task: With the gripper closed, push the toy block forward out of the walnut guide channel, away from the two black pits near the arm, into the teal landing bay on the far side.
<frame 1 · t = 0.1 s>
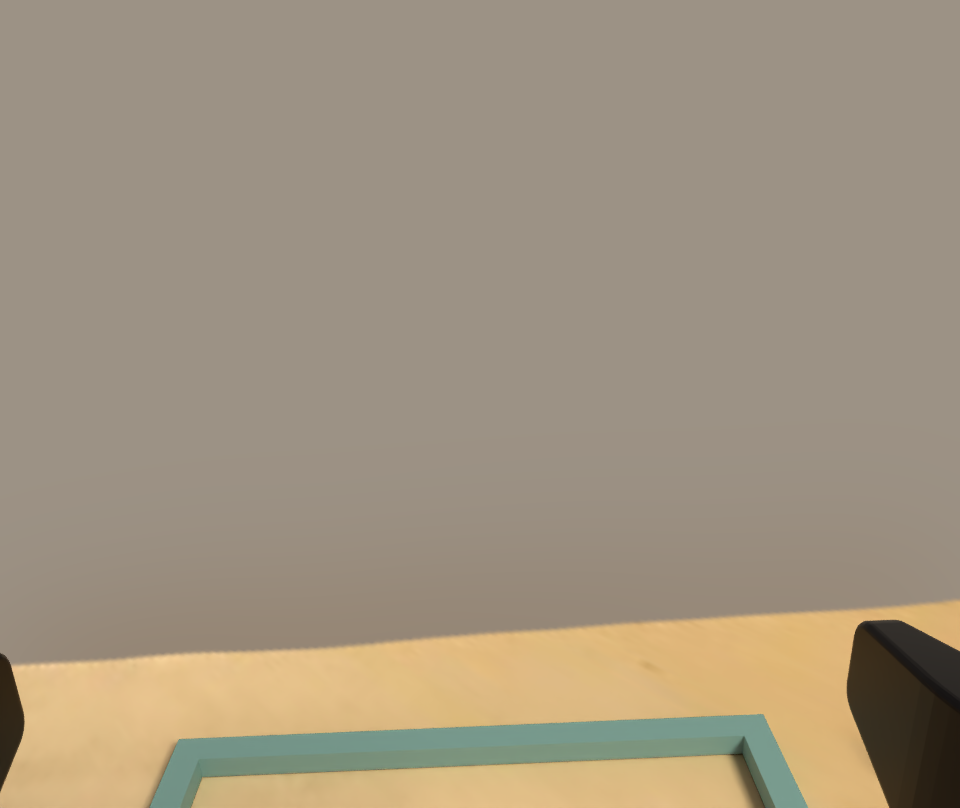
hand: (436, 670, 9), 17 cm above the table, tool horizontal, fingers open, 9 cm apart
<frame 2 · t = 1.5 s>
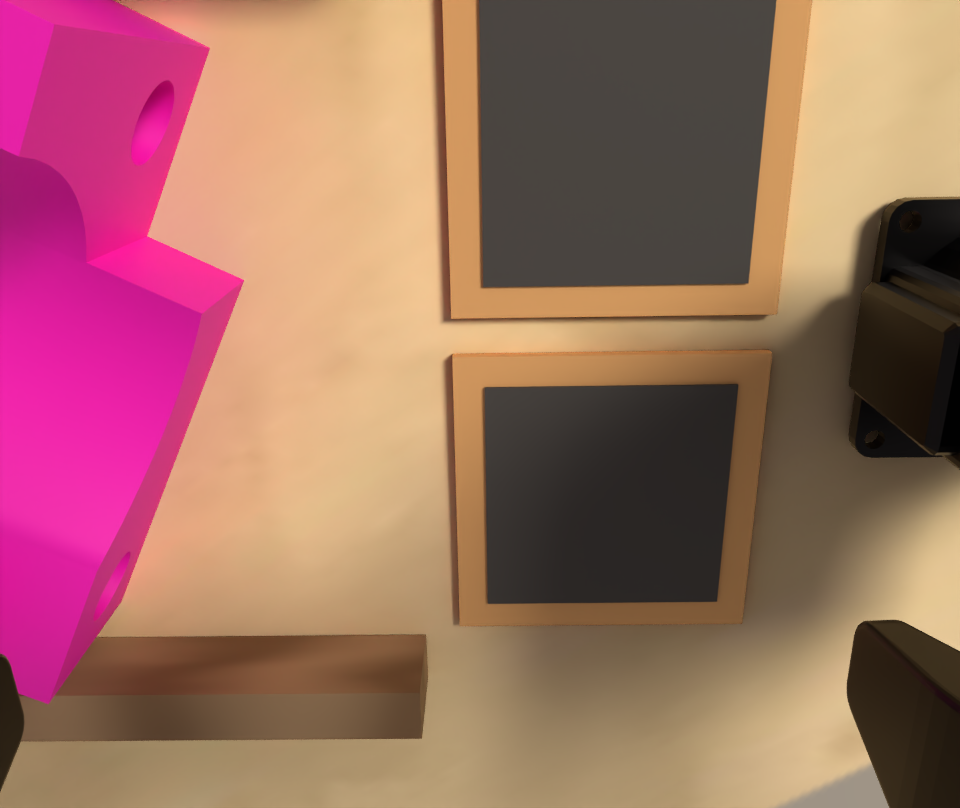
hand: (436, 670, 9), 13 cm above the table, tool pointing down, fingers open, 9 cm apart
guide channel: (156, 338, 21), on the table
pit traps: (611, 332, 21), on the table
toy block: (96, 323, 22), on the table
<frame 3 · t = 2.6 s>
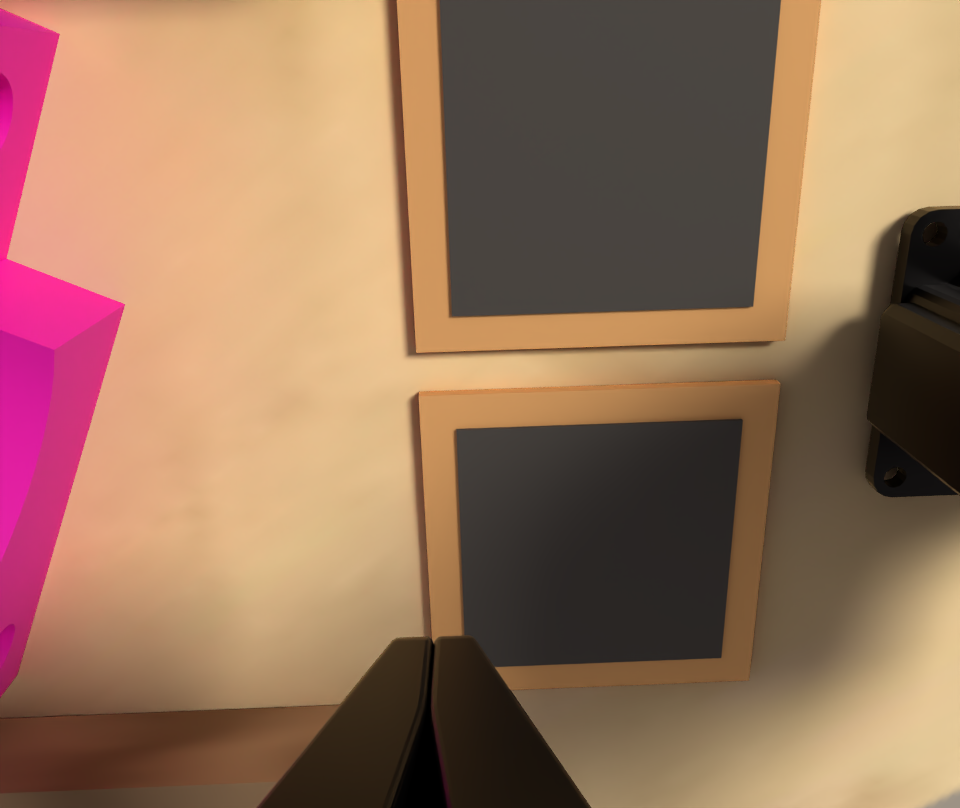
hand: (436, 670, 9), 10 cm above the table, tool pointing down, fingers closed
guide channel: (75, 381, 18), on the table
pit traps: (598, 364, 19), on the table
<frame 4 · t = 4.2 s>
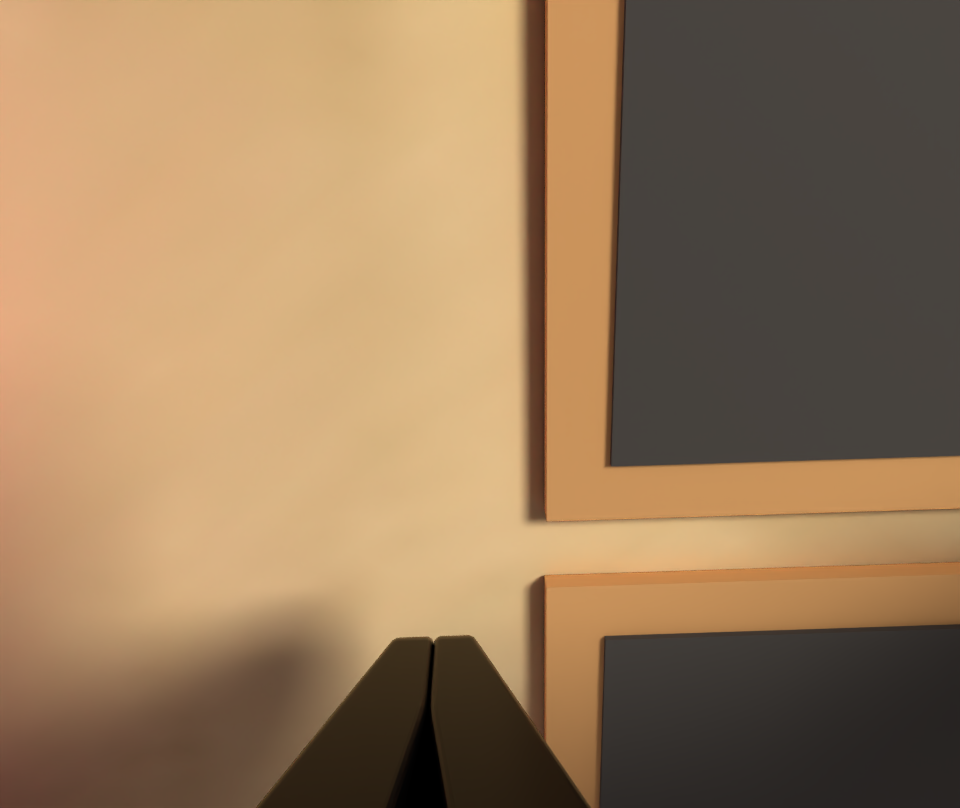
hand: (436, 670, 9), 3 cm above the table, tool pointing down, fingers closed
pit traps: (839, 534, 11), on the table
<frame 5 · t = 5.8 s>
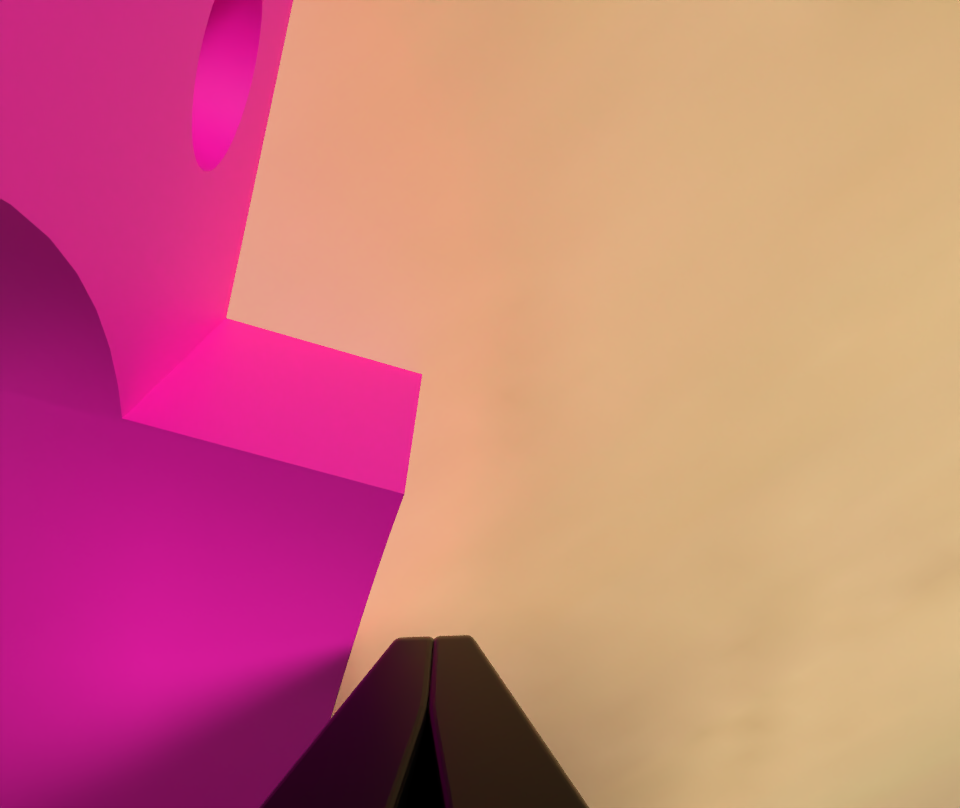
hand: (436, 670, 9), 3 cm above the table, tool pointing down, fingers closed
toy block: (148, 488, 12), on the table, touching gripper
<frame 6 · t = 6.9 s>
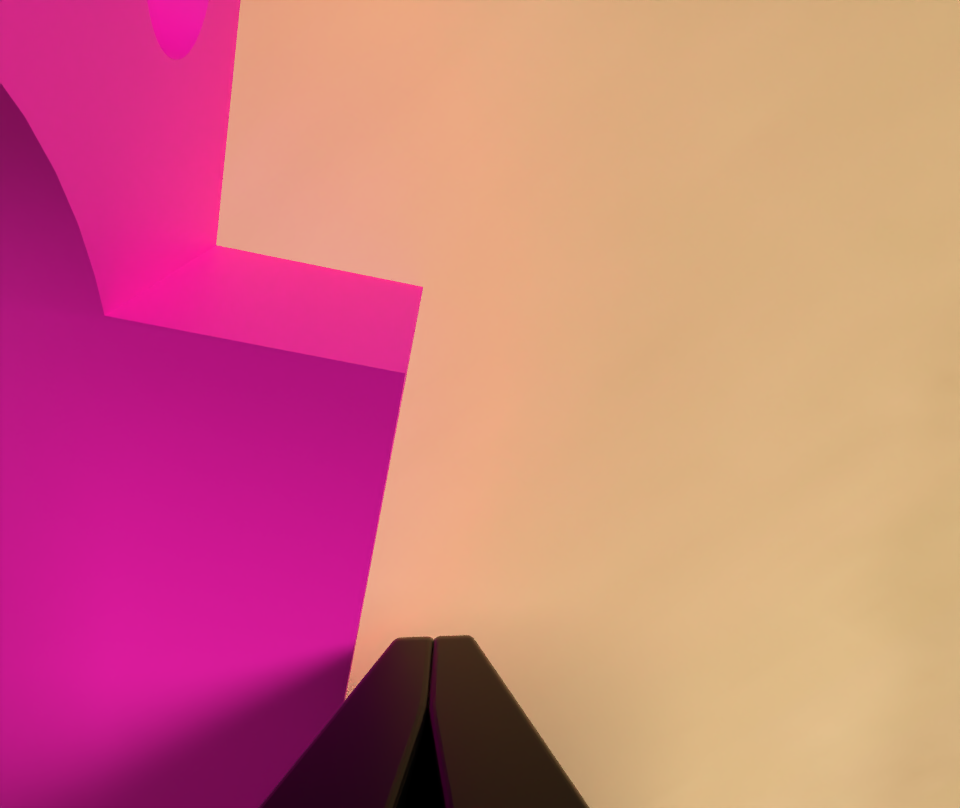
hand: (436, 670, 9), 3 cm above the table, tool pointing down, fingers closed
toy block: (157, 436, 11), on the table
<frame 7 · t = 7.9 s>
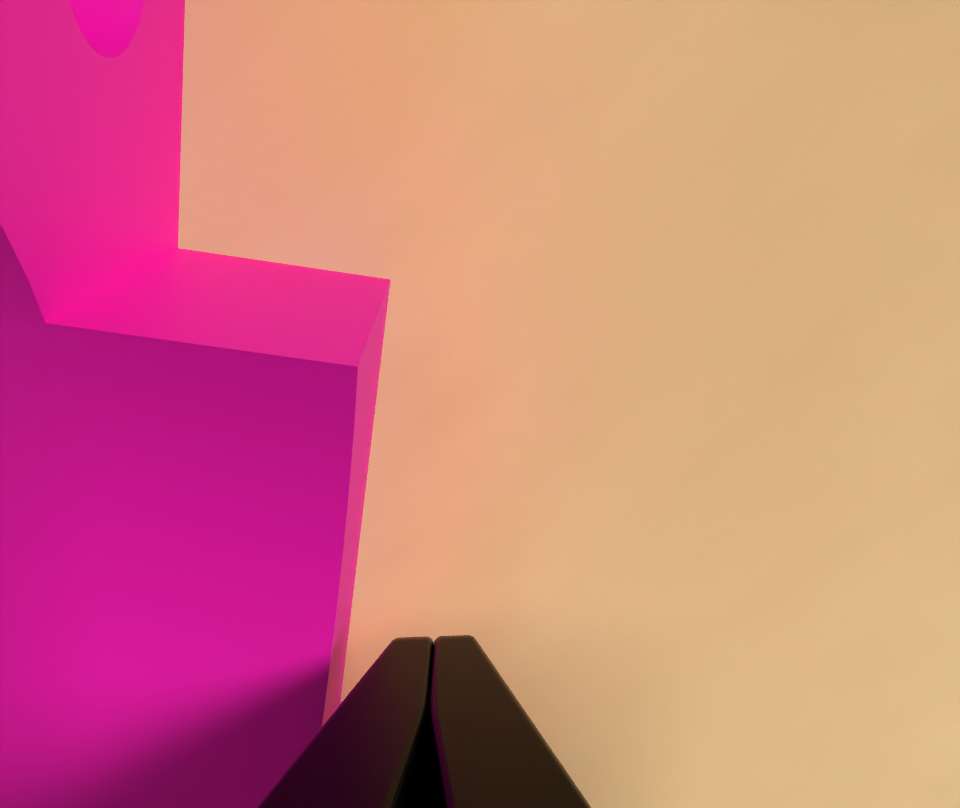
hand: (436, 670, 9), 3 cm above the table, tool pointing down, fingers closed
toy block: (133, 446, 11), on the table
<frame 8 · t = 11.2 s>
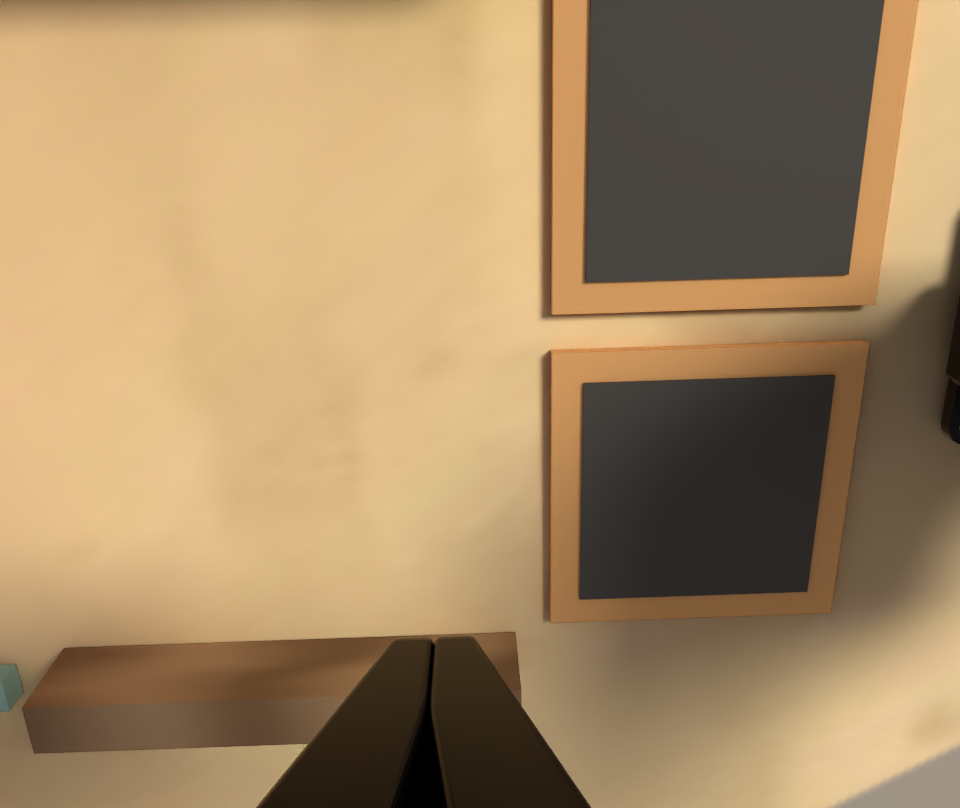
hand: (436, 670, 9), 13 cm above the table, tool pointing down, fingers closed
guide channel: (252, 340, 21), on the table
pit traps: (709, 326, 21), on the table
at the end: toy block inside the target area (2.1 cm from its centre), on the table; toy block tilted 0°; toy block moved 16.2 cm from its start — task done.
